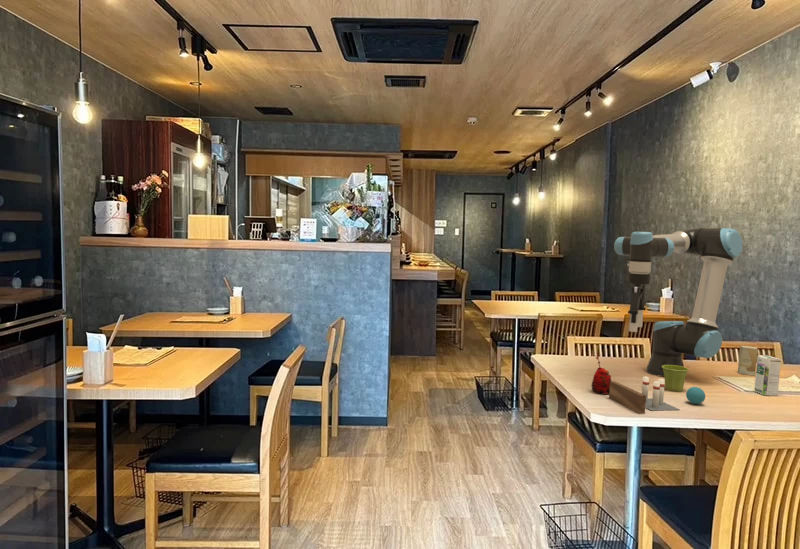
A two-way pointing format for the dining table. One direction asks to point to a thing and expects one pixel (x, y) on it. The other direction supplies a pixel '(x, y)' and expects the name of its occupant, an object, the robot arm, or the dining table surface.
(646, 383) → the pin back right
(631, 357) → the dining table surface
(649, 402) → the pin deck mark
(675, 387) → the plant pot
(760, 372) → the syrup box
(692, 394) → the ball
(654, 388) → the pin back left
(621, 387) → the bar
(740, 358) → the skincare box
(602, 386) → the red clay folk toy
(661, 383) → the pin front
